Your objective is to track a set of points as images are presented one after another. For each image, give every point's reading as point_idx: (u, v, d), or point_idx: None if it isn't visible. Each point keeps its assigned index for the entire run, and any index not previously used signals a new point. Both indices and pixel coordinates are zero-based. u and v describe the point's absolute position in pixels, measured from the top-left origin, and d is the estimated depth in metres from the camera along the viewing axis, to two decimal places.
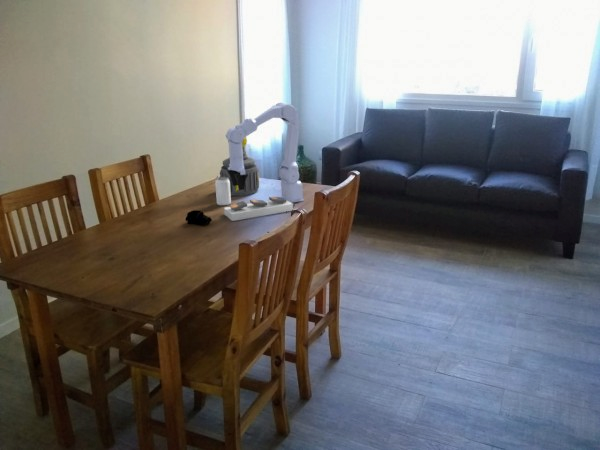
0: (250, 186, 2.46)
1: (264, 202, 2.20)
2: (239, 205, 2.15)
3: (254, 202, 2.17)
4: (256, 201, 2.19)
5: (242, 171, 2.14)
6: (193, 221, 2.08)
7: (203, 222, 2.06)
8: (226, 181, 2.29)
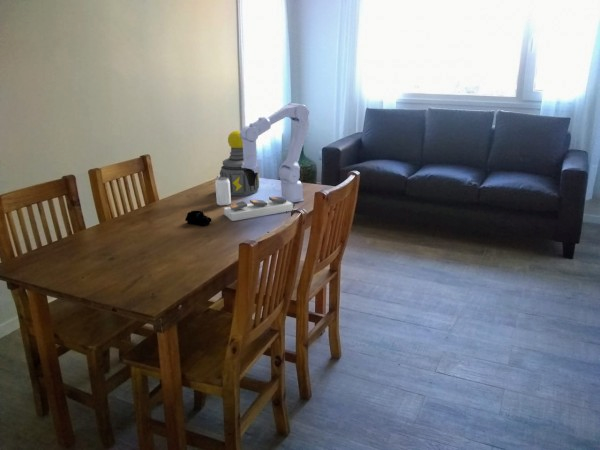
0: (250, 186, 2.46)
1: (264, 202, 2.20)
2: (239, 205, 2.15)
3: (254, 202, 2.17)
4: (256, 201, 2.19)
5: (256, 169, 2.15)
6: (193, 221, 2.08)
7: (203, 222, 2.05)
8: (226, 181, 2.29)
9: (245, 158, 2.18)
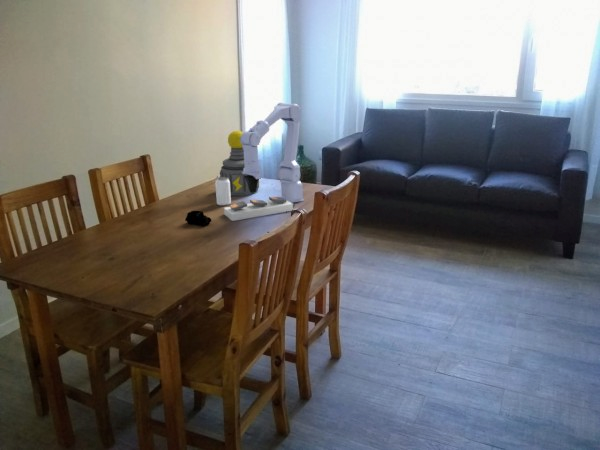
0: None
1: (264, 202, 2.20)
2: (239, 205, 2.15)
3: (254, 202, 2.17)
4: (256, 201, 2.19)
5: (257, 175, 2.08)
6: (193, 221, 2.07)
7: (203, 222, 2.05)
8: (226, 181, 2.29)
9: (246, 164, 2.11)
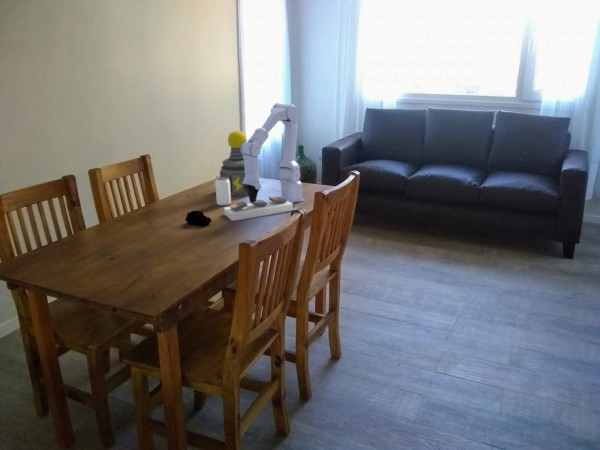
0: None
1: (264, 202, 2.20)
2: (239, 205, 2.15)
3: (254, 202, 2.17)
4: (256, 201, 2.19)
5: (258, 185, 2.10)
6: (193, 221, 2.07)
7: (203, 223, 2.05)
8: (226, 181, 2.29)
9: (246, 174, 2.13)
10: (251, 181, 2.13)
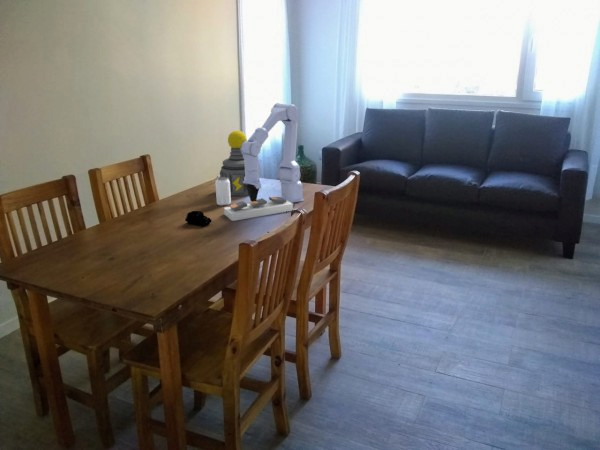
0: None
1: (263, 201, 2.19)
2: (239, 205, 2.15)
3: (254, 204, 2.17)
4: (255, 202, 2.19)
5: (258, 185, 2.10)
6: (193, 222, 2.07)
7: (203, 223, 2.05)
8: (226, 181, 2.29)
9: (247, 173, 2.13)
10: (251, 180, 2.13)
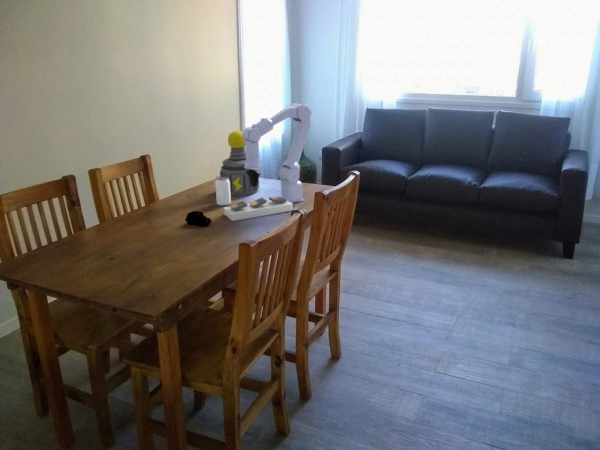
0: (250, 186, 2.46)
1: (263, 200, 2.19)
2: (239, 205, 2.15)
3: (254, 205, 2.18)
4: (255, 202, 2.19)
5: (259, 170, 2.16)
6: (193, 222, 2.07)
7: (203, 223, 2.04)
8: (226, 181, 2.29)
9: (248, 159, 2.19)
10: (252, 166, 2.19)
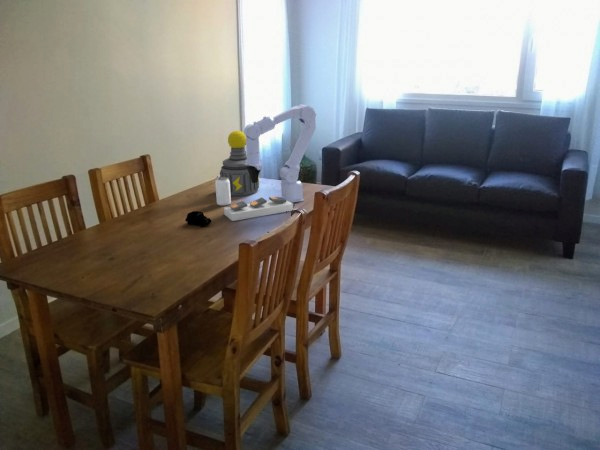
0: (250, 186, 2.46)
1: (263, 200, 2.19)
2: (239, 205, 2.15)
3: (254, 205, 2.18)
4: (255, 202, 2.19)
5: (259, 166, 2.19)
6: (193, 222, 2.07)
7: (203, 223, 2.04)
8: (226, 181, 2.29)
9: (248, 156, 2.22)
10: (253, 162, 2.23)
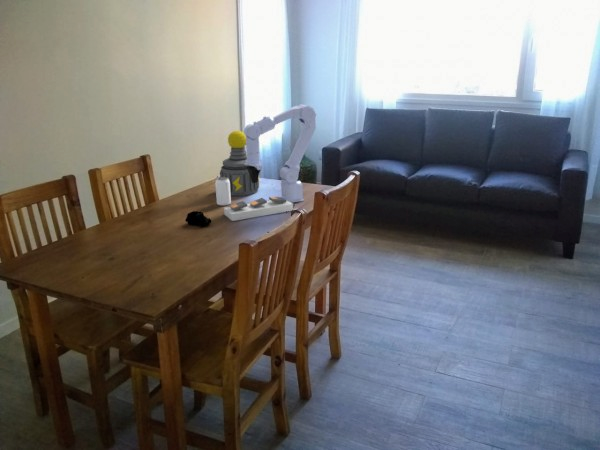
0: (250, 186, 2.46)
1: (263, 200, 2.19)
2: (239, 205, 2.15)
3: (254, 205, 2.17)
4: (255, 202, 2.19)
5: (259, 166, 2.19)
6: (193, 222, 2.07)
7: (202, 223, 2.04)
8: (226, 181, 2.29)
9: (248, 156, 2.22)
10: (253, 162, 2.23)
